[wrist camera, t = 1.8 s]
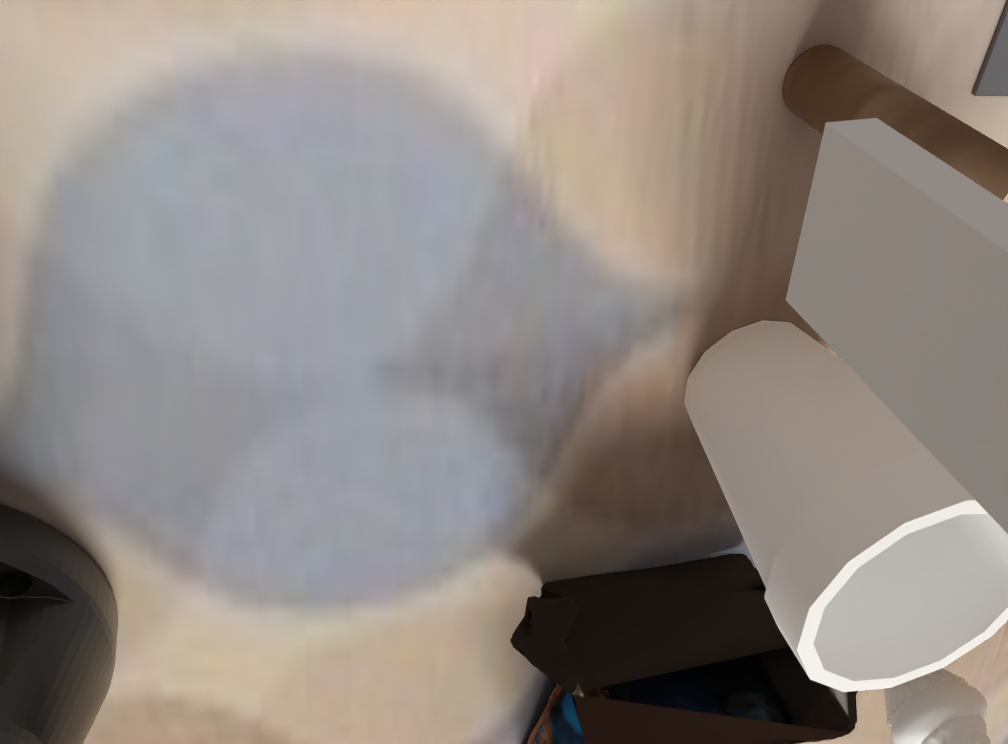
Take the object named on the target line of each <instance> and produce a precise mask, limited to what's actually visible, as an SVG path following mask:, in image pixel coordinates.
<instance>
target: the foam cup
mask: <svg viewBox="0 0 1008 744" xmlns="http://www.w3.org/2000/svg"><path fill="white" fill-rule="evenodd" d="M684 405H685V407H686V409H687V411H688V415H689V417H690V419H691V421H692V424H693V426H694V428H695V430H696V433H697V435H698V437H699V439H700V442H701V444H702V446H703V448H704V451H705V453H706V455H707V457H708V460H709V462H710V464H711V466H712V469H713V471H714V473H715V475H716V478H717V480H718V482H719V484H720V487H721V489H722V491H723V493H724V495H725V498H726V500H727V502H728V504H729V507H730V509H731V511H732V513H733V516H734V518H735V520H736V522H737V525H738V527H739V529H740V531H741V534H742V536H743V538H744V540H745V543H746V545H747V547H748V549H749V552H750V554H751V556H752V558H753V560H754V563H755V565H756V567H757V569H758V572H759V574H760V576H761V578H762V581H763V583H764V585H765V587H766V592H765V596H764V599H765V601H766V603H767V605H768V607H769V609H770V611H771V614H772V616H773V618H774V620H775V622H776V624H777V626H778V628H779V630H780V632H781V633H782V635H783V636H784V638H785V640H786V641H787V643H788V644H789V646H790V648H791V649H792V651H793V653H794V654H795V656H796V657H797V659H798V661H799V662H800V664H801V666H802V667H803V669H804V670H805V672H806V674H807V675H808V677H809V679H810V680H813V681H816V682H818V683H821V684H824V685H826V686H829V687H831V688H834V689H837V690H839V691H842V692H851V691H862V690H873V689H883V688H892V687H894V686H897V685H899V684H902V683H905V682H907V681H910V680H913V679H915V678H918V677H921V676H923V675H926V674H928V673H931V672H934V671H936V670H939V669H942V668H944V667H945V666H947V665H948V664H950V663H951V662H953V661H954V660H956V659H957V658H959V657H960V656H962V655H964V654H965V653H967V652H968V651H970V650H971V649H973V648H974V647H976V646H977V645H979V644H980V643H982V642H984V641H985V640H987V639H988V638H990V637H991V636H992V635H993V634H994V633H995V632H996V631H997V630H998V629H999V628H1000V627H1001V626H1002V625H1003V624H1004V623H1005V622H1006V621H1007V620H1008V534H1007V533H1006V532H1005V531H1004V530H1003V528H1002V527H1001V526H1000V525H999V524H998V523H997V522H996V521H995V520H994V519H993V518H992V517H991V516H990V515H989V514H988V513H987V512H986V511H985V510H984V508H983V507H982V506H981V505H980V504H979V503H978V502H977V501H976V500H975V499H974V498H973V497H972V496H971V495H970V494H969V493H968V492H967V491H966V490H965V489H964V487H963V486H962V485H961V484H960V483H959V482H958V481H957V480H956V479H955V478H954V477H953V476H952V475H951V474H950V473H949V472H948V471H947V470H946V469H945V467H944V466H943V465H942V464H941V463H940V462H939V461H938V460H937V459H936V458H935V457H934V456H933V455H932V454H931V453H930V452H929V451H928V450H927V449H926V447H925V446H924V445H923V444H922V443H921V442H920V441H919V440H918V439H917V438H916V437H915V436H914V435H913V434H912V433H911V432H910V431H909V430H908V429H907V427H906V426H905V425H904V424H903V423H902V422H901V421H900V420H899V419H898V418H897V417H896V416H895V415H894V414H893V413H892V412H891V411H890V410H889V409H888V407H887V406H886V405H885V404H884V403H883V402H882V401H881V400H880V399H879V398H878V397H877V396H876V395H875V394H874V393H873V392H872V391H871V390H870V389H869V387H868V386H867V385H866V384H865V383H864V382H863V381H862V380H861V379H860V378H859V377H858V376H857V375H856V374H855V373H854V372H853V371H852V370H851V369H850V367H849V366H848V365H847V364H846V363H845V362H844V361H842V360H841V359H840V358H839V357H837V356H836V355H835V354H833V353H832V352H831V351H829V350H828V349H827V348H825V347H824V346H823V345H821V344H820V343H819V342H817V341H816V340H815V339H813V338H812V337H810V336H809V335H808V334H806V333H805V332H803V331H802V330H801V329H799V328H798V327H796V326H795V325H793V324H792V323H791V322H781V321H766V320H762V321H759V322H756V323H753V324H750V325H747V326H744V327H741V328H738V329H735V330H732V331H731V332H729V333H728V334H727V335H725V336H724V337H723V338H721V339H720V340H719V341H718V342H716V343H715V344H714V345H712V346H711V347H710V348H709V349H707V350H706V351H705V352H704V353H703V355H702V356H701V358H700V359H699V361H698V362H697V364H696V366H695V367H694V369H693V370H692V372H691V373H690V375H689V376H688V379H687V385H686V392H685V398H684Z"/></svg>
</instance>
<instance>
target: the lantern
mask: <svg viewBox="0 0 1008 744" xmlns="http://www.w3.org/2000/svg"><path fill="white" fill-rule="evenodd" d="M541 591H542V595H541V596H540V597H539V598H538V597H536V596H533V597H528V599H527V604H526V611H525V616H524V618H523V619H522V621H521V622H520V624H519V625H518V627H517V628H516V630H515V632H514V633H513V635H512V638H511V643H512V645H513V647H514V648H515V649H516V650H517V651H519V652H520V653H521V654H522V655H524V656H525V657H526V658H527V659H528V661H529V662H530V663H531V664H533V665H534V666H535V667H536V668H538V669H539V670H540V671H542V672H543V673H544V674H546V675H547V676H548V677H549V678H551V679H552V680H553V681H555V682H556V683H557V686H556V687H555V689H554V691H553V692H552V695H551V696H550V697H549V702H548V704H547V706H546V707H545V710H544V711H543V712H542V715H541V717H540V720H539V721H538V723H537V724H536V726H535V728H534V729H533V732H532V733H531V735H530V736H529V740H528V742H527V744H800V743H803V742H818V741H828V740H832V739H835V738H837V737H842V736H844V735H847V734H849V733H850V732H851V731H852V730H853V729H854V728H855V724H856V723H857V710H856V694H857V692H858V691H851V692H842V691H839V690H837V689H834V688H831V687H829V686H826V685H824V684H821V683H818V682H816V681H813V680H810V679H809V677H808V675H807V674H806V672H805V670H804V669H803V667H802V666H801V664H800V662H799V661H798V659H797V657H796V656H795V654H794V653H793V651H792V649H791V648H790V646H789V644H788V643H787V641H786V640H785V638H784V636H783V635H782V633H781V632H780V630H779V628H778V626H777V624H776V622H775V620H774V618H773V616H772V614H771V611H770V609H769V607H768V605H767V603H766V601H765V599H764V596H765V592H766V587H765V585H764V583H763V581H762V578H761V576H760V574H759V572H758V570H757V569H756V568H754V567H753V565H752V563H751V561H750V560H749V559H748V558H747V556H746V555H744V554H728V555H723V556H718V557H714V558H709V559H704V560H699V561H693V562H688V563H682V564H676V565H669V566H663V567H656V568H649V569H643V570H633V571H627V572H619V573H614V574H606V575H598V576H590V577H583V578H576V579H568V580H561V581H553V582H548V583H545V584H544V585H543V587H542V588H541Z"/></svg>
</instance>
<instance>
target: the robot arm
mask: <svg viewBox="0 0 1008 744" xmlns="http://www.w3.org/2000/svg"><path fill="white" fill-rule="evenodd" d="M786 301H787V302H788V303H789V304H790V305H791V306H792V307H793V309H794V310H795V311H796V312H797V313H798V314H799V315H800V316H801V317H802V318H803V319H804V320H805V321H806V322H807V323H808V324H809V325H810V326H811V327H812V329H813V330H814V331H815V332H816V333H817V334H818V335H819V336H820V337H821V338H822V339H823V340H824V341H825V342H826V343H827V344H828V345H829V346H830V347H831V349H832V350H833V351H834V352H835V353H836V354H837V355H838V356H839V357H840V358H841V359H842V360H843V361H844V362H845V363H846V364H847V365H848V366H849V367H850V369H851V370H852V371H853V372H854V373H855V374H856V375H857V376H858V377H859V378H860V379H861V380H862V381H863V382H864V383H865V384H866V385H867V386H868V387H869V389H870V390H871V391H872V392H873V393H874V394H875V395H876V396H877V397H878V398H879V399H880V400H881V401H882V402H883V403H884V404H885V405H886V406H887V407H888V409H889V410H890V411H891V412H892V413H893V414H894V415H895V416H896V417H897V418H898V419H899V420H900V421H901V422H902V423H903V424H904V425H905V426H906V427H907V429H908V430H909V431H910V432H911V433H912V434H913V435H914V436H915V437H916V438H917V439H918V440H919V441H920V442H921V443H922V444H923V445H924V446H925V447H926V449H927V450H928V451H929V452H930V453H931V454H932V455H933V456H934V457H935V458H936V459H937V460H938V461H939V462H940V463H941V464H942V465H943V466H944V467H945V469H946V470H947V471H948V472H949V473H950V474H951V475H952V476H953V477H954V478H955V479H956V480H957V481H958V482H959V483H960V484H961V485H962V486H963V487H964V489H965V490H966V491H967V492H968V493H969V494H970V495H971V496H972V497H973V498H974V499H975V500H976V501H977V502H978V503H979V504H980V505H981V506H982V507H983V508H984V510H985V511H986V512H987V513H988V514H989V515H990V516H991V517H992V518H993V519H994V520H995V521H996V522H997V523H998V524H999V525H1000V526H1001V527H1002V528H1003V530H1004V531H1005V532H1006V533H1007V534H1008V204H1007V203H1006V202H1004V201H1003V200H1001V199H1000V198H998V197H997V196H995V195H994V194H992V193H991V192H989V191H988V190H986V189H984V188H983V187H981V186H980V185H978V184H977V183H975V182H974V181H972V180H971V179H969V178H968V177H966V176H965V175H963V174H962V173H960V172H959V171H957V170H955V169H954V168H952V167H951V166H949V165H948V164H946V163H945V162H943V161H942V160H940V159H939V158H937V157H936V156H934V155H933V154H931V153H929V152H928V151H926V150H925V149H923V148H922V147H920V146H919V145H917V144H916V143H914V142H913V141H911V140H910V139H908V138H907V137H905V136H904V135H902V134H900V133H899V132H897V131H896V130H894V129H893V128H891V127H890V126H888V125H887V124H885V123H884V122H882V121H881V120H879V119H878V118H870V119H859V120H847V121H836V122H826V123H825V128H824V132H823V137H822V141H821V145H820V150H819V154H818V159H817V163H816V168H815V172H814V176H813V181H812V185H811V190H810V194H809V199H808V203H807V208H806V212H805V216H804V221H803V225H802V230H801V234H800V239H799V243H798V247H797V252H796V256H795V261H794V265H793V270H792V274H791V278H790V283H789V287H788V292H787V296H786ZM117 628H118V615H117V608H116V603H115V599H114V596H113V593H112V591H111V588H110V586H109V584H108V582H107V580H106V579H105V577H104V575H103V574H102V572H101V571H100V569H99V568H98V567H97V566H96V564H95V563H94V562H93V561H92V560H91V559H90V558H89V557H88V555H87V554H86V553H85V552H83V551H82V550H81V549H80V548H79V547H78V546H77V545H75V544H74V543H73V542H72V541H70V540H69V539H68V538H66V537H65V536H63V535H62V534H60V533H59V532H57V531H56V530H54V529H52V528H51V527H49V526H47V525H45V524H43V523H42V522H39V521H37V520H35V519H33V518H31V517H29V516H27V515H24V514H22V513H19V512H17V511H15V510H12V509H9V508H6V507H3V506H0V744H83V743H84V740H85V738H86V736H87V734H88V732H89V730H90V728H91V726H92V724H93V722H94V720H95V718H96V716H97V714H98V712H99V709H100V707H101V705H102V703H103V701H104V699H105V697H106V695H107V692H108V690H109V687H110V684H111V680H112V676H113V672H114V667H115V657H116V642H117Z"/></svg>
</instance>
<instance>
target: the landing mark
mask: <svg viewBox="0 0 1008 744" xmlns="http://www.w3.org/2000/svg"><path fill="white" fill-rule="evenodd" d="M972 94H973V95H975V96H1008V1H1007V3H1006V6H1005V9H1004V11H1003V14H1002V16H1001V19H1000V22H999V24H998V27H997V30H996V32H995V35H994V37H993V40H992V43H991V45H990V48H989V51H988V53H987V56H986V59H985V61H984V64H983V66H982V69H981V72H980V74H979V77H978V80H977V82H976V85H975V87H974V90H973V93H972Z"/></svg>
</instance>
